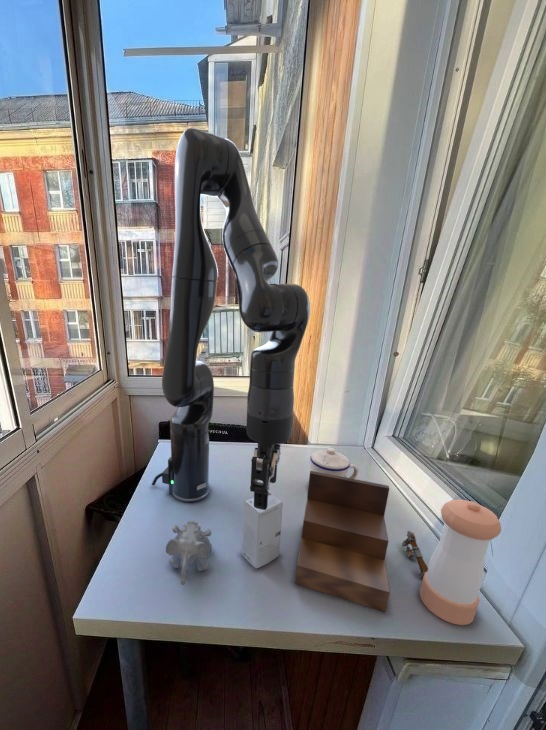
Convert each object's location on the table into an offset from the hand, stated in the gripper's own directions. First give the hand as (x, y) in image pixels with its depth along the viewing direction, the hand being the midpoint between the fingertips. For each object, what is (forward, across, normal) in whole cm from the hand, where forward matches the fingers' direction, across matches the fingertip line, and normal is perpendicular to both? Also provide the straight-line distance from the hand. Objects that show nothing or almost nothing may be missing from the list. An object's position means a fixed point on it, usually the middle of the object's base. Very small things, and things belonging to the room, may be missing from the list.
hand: (265, 493), depth 60 cm
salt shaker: (+14, -1, +30) cm, 33 cm away
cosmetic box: (+14, 0, 0) cm, 14 cm away
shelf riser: (+14, -3, +14) cm, 20 cm away
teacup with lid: (+14, -28, +12) cm, 33 cm away
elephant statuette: (+14, +8, -11) cm, 20 cm away
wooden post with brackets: (+14, -9, +26) cm, 31 cm away
